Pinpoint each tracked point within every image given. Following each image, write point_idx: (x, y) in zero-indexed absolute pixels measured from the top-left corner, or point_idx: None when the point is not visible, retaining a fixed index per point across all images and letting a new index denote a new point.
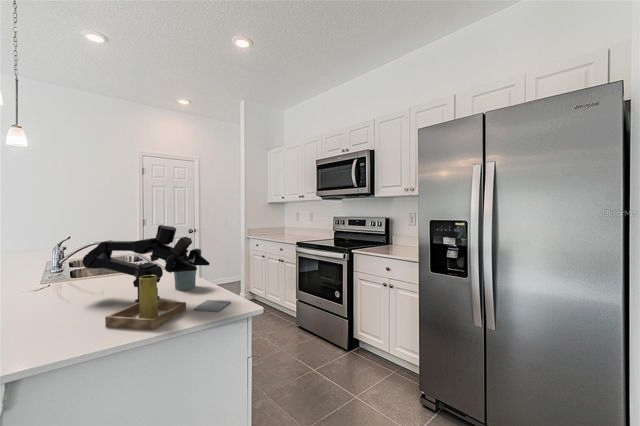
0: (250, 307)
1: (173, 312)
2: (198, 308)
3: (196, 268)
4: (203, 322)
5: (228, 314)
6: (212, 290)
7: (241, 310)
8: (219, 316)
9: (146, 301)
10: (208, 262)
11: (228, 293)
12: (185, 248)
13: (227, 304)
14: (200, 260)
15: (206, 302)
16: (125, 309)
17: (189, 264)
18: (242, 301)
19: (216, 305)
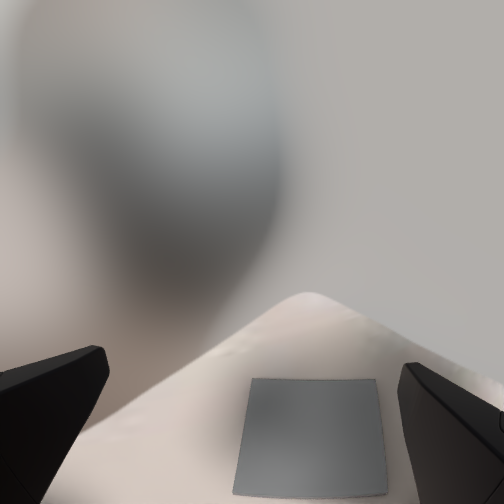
0: (299, 308)
1: None
2: (379, 468)
3: (415, 367)
4: (471, 376)
5: (383, 343)
6: None
7: (335, 322)
8: (410, 360)
9: None
10: (94, 349)
11: (104, 423)
12: None
13: (286, 382)
14: (19, 430)
15: (280, 478)
16: None
17: (482, 403)
18: (232, 347)
19: (320, 412)
